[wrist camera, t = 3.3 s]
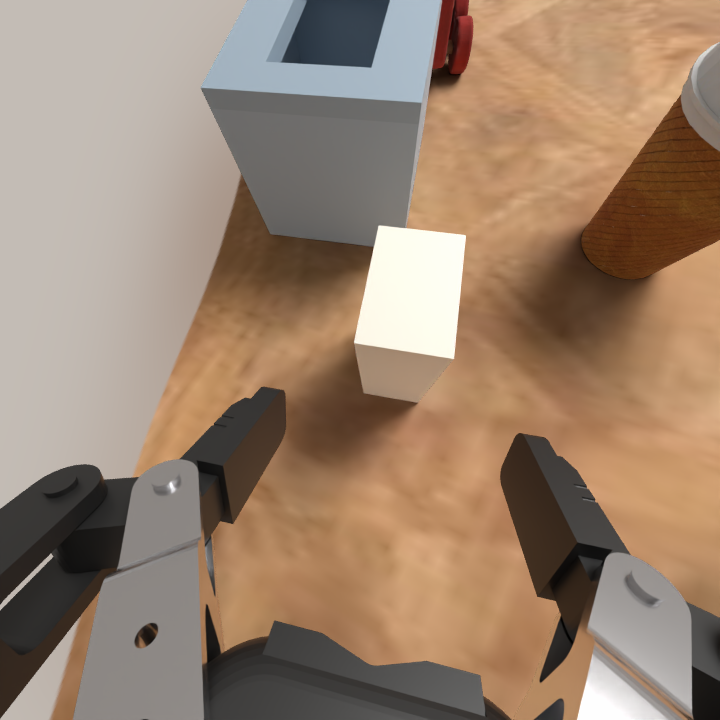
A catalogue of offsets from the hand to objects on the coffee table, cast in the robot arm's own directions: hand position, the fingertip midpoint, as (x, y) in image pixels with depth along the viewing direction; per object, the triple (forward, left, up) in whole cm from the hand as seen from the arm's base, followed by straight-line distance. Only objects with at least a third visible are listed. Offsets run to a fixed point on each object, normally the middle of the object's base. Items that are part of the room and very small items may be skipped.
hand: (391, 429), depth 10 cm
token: (-3, -5, -10) cm, 12 cm away
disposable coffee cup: (-24, -7, -11) cm, 27 cm away
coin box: (-6, -23, -10) cm, 26 cm away
